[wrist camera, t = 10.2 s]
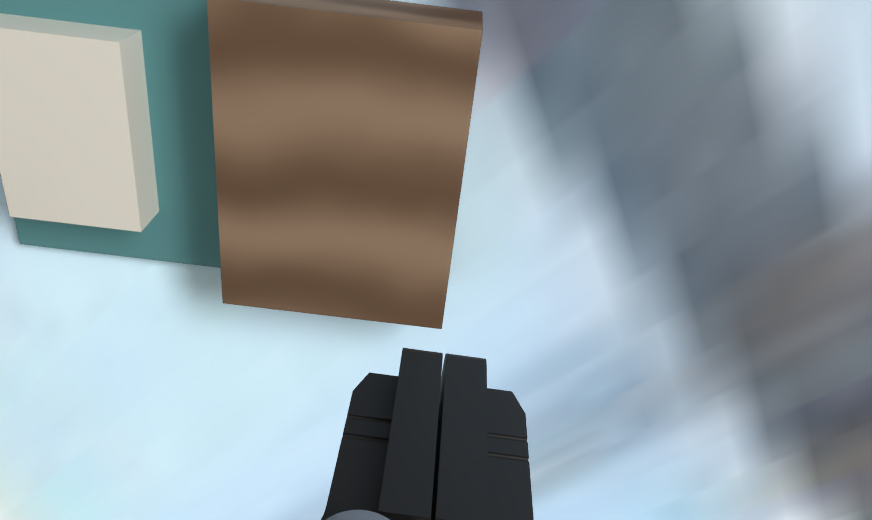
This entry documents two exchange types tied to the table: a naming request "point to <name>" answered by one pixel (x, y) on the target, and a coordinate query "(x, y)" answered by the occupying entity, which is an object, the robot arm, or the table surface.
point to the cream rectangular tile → (75, 124)
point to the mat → (153, 131)
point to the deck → (340, 153)
